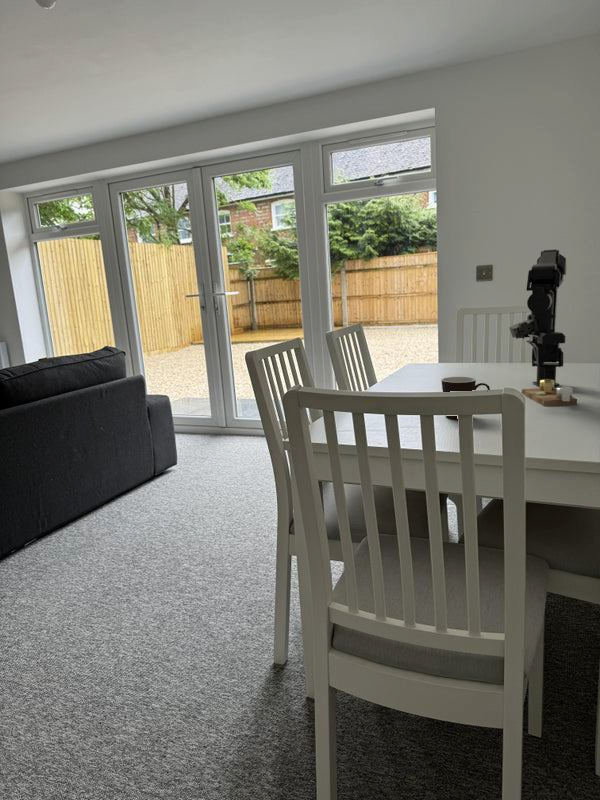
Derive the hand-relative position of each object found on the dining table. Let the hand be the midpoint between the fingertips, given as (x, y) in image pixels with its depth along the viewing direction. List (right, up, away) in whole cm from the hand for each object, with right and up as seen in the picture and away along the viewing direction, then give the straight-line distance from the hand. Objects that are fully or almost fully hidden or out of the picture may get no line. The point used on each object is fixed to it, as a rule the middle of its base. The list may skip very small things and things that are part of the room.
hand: (539, 365), depth 165 cm
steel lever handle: (+4, -9, -8) cm, 13 cm away
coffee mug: (-26, -15, -16) cm, 34 cm away
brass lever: (+4, -7, +4) cm, 9 cm away
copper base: (+3, -10, +1) cm, 10 cm away
